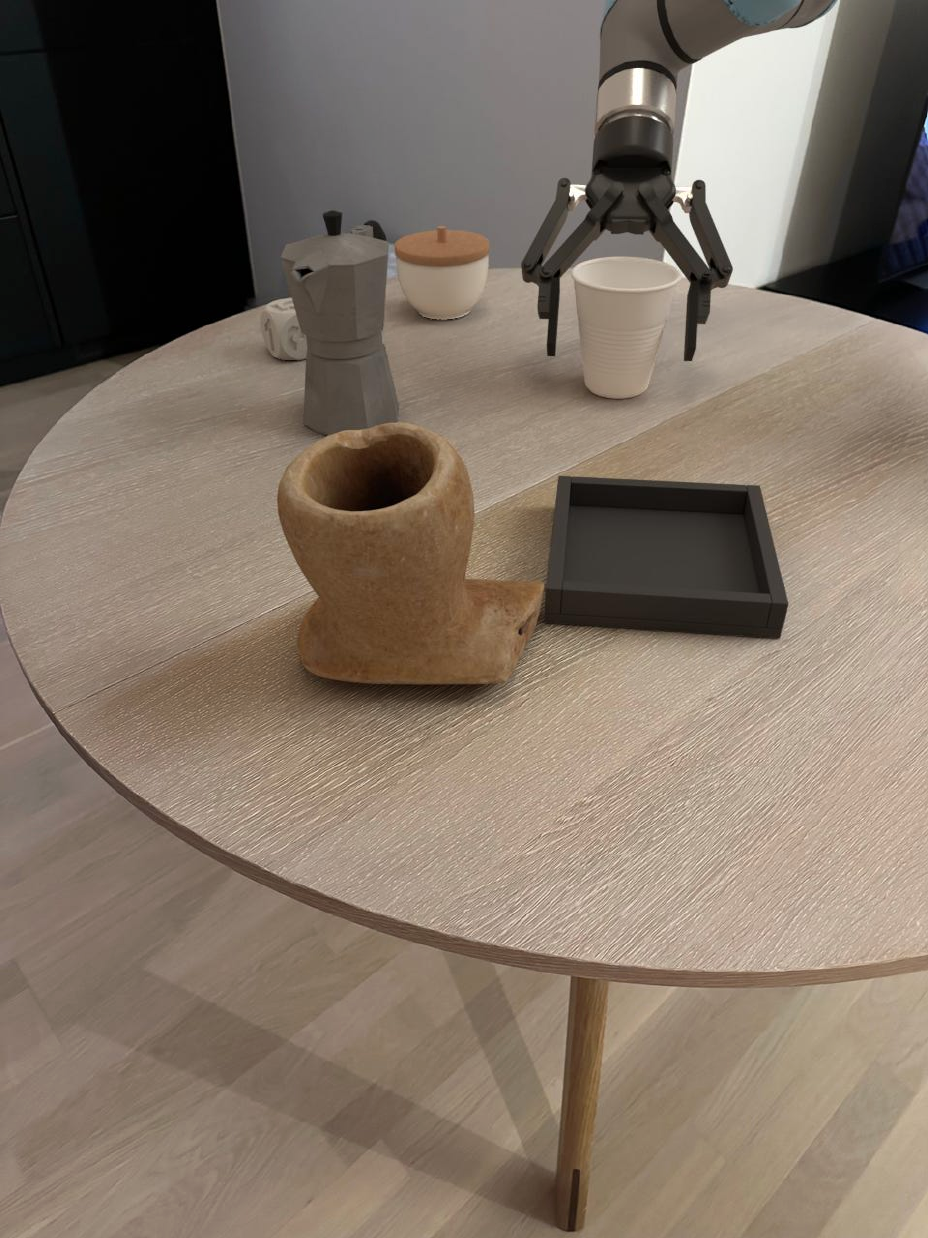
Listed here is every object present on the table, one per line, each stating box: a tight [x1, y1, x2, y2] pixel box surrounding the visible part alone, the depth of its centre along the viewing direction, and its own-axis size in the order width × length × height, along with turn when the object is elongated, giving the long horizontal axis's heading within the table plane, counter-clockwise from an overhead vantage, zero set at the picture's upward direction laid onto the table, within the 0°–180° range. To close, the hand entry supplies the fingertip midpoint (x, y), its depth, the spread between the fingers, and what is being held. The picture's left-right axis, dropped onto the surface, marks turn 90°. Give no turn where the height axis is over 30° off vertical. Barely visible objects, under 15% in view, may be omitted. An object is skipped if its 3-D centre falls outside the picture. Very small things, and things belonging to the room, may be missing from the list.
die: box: [260, 297, 307, 361], centre depth 98 cm, size 5×5×5 cm
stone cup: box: [276, 422, 546, 685], centre depth 53 cm, size 15×12×15 cm
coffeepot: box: [280, 209, 400, 436], centre depth 82 cm, size 15×9×18 cm, turn 159°
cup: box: [570, 256, 683, 400], centre depth 87 cm, size 10×10×11 cm
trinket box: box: [393, 225, 491, 321], centre depth 106 cm, size 11×11×9 cm
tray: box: [543, 475, 789, 640], centre depth 65 cm, size 15×15×3 cm
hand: (619, 352), depth 86 cm, fingers open, 12 cm apart
